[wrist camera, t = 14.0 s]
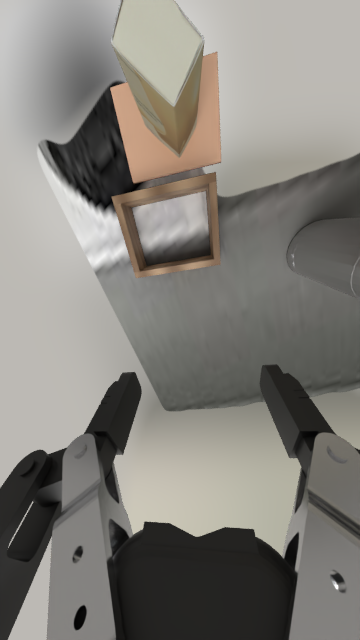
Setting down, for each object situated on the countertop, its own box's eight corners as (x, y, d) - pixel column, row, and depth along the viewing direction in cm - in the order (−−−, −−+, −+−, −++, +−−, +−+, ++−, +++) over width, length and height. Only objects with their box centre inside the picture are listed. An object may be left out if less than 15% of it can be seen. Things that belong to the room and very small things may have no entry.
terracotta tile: (216, 55, 20) (217, 51, 20) (220, 162, 25) (221, 161, 24) (111, 90, 22) (110, 87, 21) (134, 183, 27) (133, 183, 26)
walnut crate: (211, 181, 26) (215, 171, 22) (216, 259, 32) (220, 264, 27) (124, 201, 28) (111, 196, 24) (143, 271, 34) (136, 278, 29)
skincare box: (144, 127, 23) (104, 39, 12) (160, 86, 21) (129, -58, 10) (181, 161, 25) (173, 109, 14) (199, 126, 23) (206, 35, 12)
